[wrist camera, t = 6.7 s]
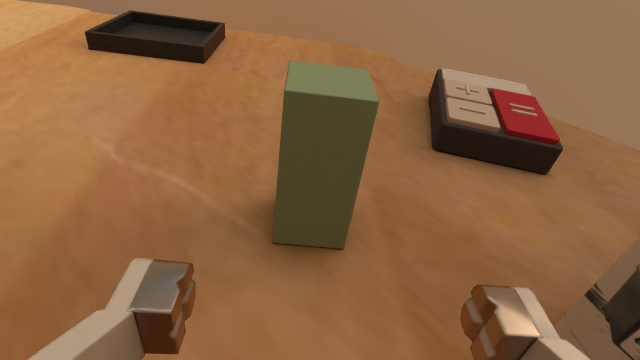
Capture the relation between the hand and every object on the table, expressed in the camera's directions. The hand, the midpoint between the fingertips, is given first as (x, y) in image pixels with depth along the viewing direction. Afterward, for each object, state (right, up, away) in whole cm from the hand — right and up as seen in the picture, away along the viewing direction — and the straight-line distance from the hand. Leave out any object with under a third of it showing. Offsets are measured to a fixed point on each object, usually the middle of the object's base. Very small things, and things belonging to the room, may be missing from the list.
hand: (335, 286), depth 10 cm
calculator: (+17, +9, +30) cm, 36 cm away
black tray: (-22, +23, +41) cm, 52 cm away
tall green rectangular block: (-1, 0, +14) cm, 14 cm away
